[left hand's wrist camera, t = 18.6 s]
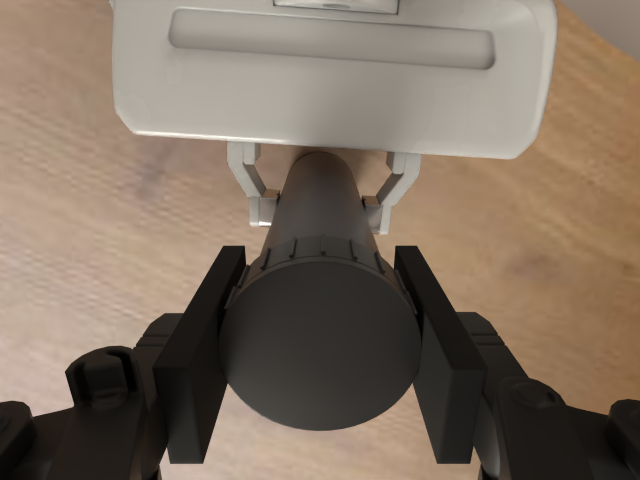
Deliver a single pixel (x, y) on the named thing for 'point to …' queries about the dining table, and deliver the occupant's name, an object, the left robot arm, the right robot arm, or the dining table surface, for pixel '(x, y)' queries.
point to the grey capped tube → (320, 204)
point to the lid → (320, 334)
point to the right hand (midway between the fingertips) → (319, 227)
